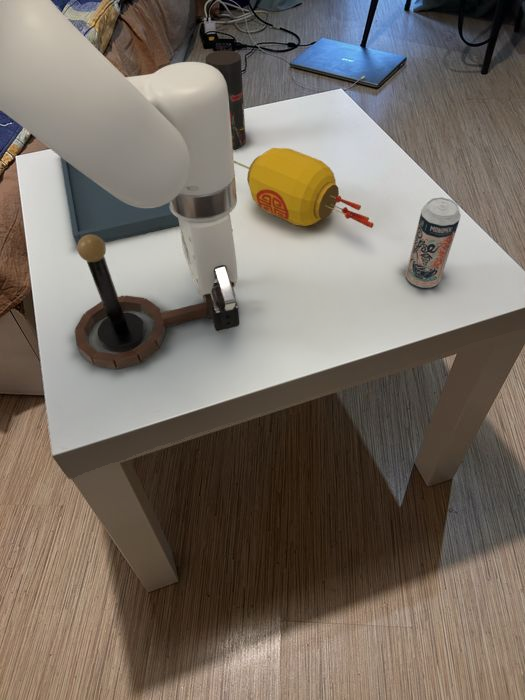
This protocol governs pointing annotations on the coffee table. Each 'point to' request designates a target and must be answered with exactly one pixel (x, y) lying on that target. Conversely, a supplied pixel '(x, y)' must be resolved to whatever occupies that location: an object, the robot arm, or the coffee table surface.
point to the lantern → (296, 187)
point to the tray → (108, 210)
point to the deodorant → (232, 90)
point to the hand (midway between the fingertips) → (217, 301)
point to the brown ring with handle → (155, 337)
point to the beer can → (433, 242)
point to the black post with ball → (110, 301)
